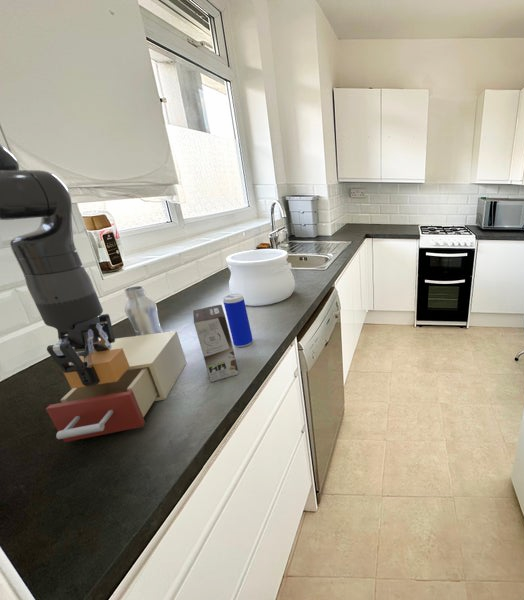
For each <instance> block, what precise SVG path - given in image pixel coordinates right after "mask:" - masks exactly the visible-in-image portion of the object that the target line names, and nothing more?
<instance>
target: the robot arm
mask: <svg viewBox="0 0 524 600" xmlns="http://www.w3.org/2000/svg"><path fill="white" fill-rule="evenodd" d="M72 203H73V202H72V196H71V193H70V190H69V189H68V187H67V186H66V184H65V183H64V182H63V181H62V180H61V178H59V177H57V176H56V175H55V174H53V173H51V172H49V171H45V170H40V169H39V170H38V169H20V164H19V161H18V160H17V158H16V157H15V155H13V154H12V153H11V151H10V150H8V149H7V148H6V147H5V146H4V145H2V143H0V221H14V220H15V221H16V220H25V219H35V218H40V223H39V226H38V227H37V228H36V229H35V230H33V231H30V232H27V233H22V234H21V235H17V236H15V237H13V238H12V239H10V242H9V246H10V250H11V252H12V254H13V257H14V258H15V260H16V262H17V264H18V266H19V269H20V271H21V272H22V274H23V278H24V280H25V284H26V288H27V291H28V292H29V294H30V297H31V298H32V300H33V302H34V304H35V306H36V308H37V310H38V313H39V315H40V317H41V319H42V321H43V323H44V325H46V326H48V327H51V328H54V329H56V332H57V338H58V341H57V342H56V344H50V345H47V347H46V351H47V353H48V354H49V355H50V357H51V358H52V359H53V360H54V362H55V363H56V364H57V365H58V367H59V368H60V369H61V370H62V372H63V374H64V373H69V372H75V371H76V372H77V374H78V376H79V378H80V380H81V382H82V384H83V385H84V386H92V385H97V384H98V383H99V382H100V380H99V378H98V375H97V373H96V371H95V369H94V366H92V358H91V355H92V354H93V353H94V352H99V351H106V350H110V349H111V348H112V346H111V343H114V342H115V339H116V338H115V333H114V329H113V325H112V321H111V317H110V314H108V313H105V314H103V312H104V309H103V307H102V304H101V302H100V299H99V297H98V294H97V292H96V289H95V286H94V284H93V282H92V279H91V277H90V275H89V273H88V272H87V271H86V269H85V267H84V265H83V261H82V260H81V257H80V254H79V252H78V249H77V247H76V245H75V241H74V232H73V231H74V230H73V204H72ZM77 350H83V351H77ZM79 356H83V357H84V362H82V360H81V359H80V358H79ZM69 362H70V363H71V365H69Z"/></svg>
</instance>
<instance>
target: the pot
mask: <svg viewBox="0 0 524 600" xmlns="http://www.w3.org/2000/svg"><path fill="white" fill-rule="evenodd" d="M288 258H289V253H288V251H287V250H284V249H279V248H260V249H259V248H258V249H251V250H244V251H240V252H236V253H233V254H232V253H231V254H230V255H228V256H226V258H225V261H226V262H225V263H226V264H227V267H228V270H229V272H230V276H229V281H228V290H229V294H242V296H243V298H244V301H245V306H251V307H252V306H254V307H257V306H258V307H261V306H268V305H272V304H275V303H279V302H280V303H281V302H282V301H284V300H287V299H288V298H290V297H291V296H292V294H293V293H294V291H295V288H296V282H295V277H294V274H293V273H292V271H291V270H292V269H293V267H292V263H291V262H288V260H287V259H288Z"/></svg>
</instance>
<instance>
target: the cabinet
mask: <svg viewBox="0 0 524 600" xmlns="http://www.w3.org/2000/svg"><path fill="white" fill-rule="evenodd" d="M111 346H112V348H111V349H110V350H114V349H121V348H123V351H124V353H125V356H126V359H127V361H128V364H129V366H130V367H129V368H128V369H127V370H132V369H138V368H145V367H149V368H150V371H151V374H152V377H153V379H154V382H155V385H156V387H157V390H158V393H159V394H158V395H157V397H156V398H155V400H154V402H159V401H165V400H166V399H167V397H168V396H169V394H170V393H171V390H172V389H173V387H174V385H175V383H176V382H177V380H178V379H179V377H180V375H181V374H182V371H183V369H184V368H185V367H186V364H187V360H186V356H185V353H184V349H183V346H182V343H181V340H180V337H179V333H178V331H177V330H171V331H165V332H164V331H163V333H155V334H148V335H140V336H136V335H134V336H133V335H132V336H126V337H125V336H124V337H118V338H117V337H116V338H115V342H114V343H111Z"/></svg>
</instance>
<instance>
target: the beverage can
mask: <svg viewBox="0 0 524 600" xmlns="http://www.w3.org/2000/svg"><path fill="white" fill-rule="evenodd" d="M223 306H224V310H225V314H226V315H225V316H226V320H227V324H228V328H229V332H230V336H231V340H232V344H233V345H234V346H235V347H237V348H244V347H247V346H250V345H251V344H252V343H253V341H254V338H253V334H252V330H251V329H252V328H251V325H250V320H249V315H248V311H247V307H246V306H247V305H245V301H244V298H243V296H242V294H231V293H229V294H227V295H225V296H224V297H223Z"/></svg>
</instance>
